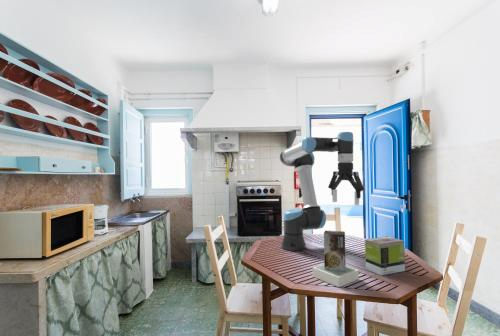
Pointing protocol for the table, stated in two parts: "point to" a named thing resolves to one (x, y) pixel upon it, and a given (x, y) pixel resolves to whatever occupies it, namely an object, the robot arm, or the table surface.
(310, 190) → the robot arm
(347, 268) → the block
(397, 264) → the tea box
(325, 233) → the coffee box
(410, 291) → the table surface
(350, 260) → the table surface
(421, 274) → the table surface
